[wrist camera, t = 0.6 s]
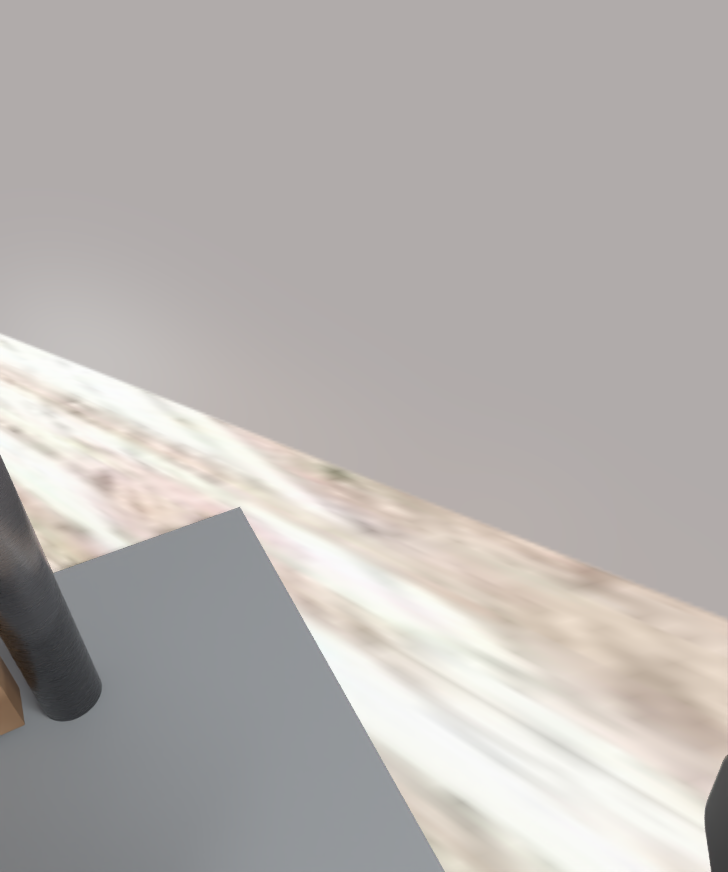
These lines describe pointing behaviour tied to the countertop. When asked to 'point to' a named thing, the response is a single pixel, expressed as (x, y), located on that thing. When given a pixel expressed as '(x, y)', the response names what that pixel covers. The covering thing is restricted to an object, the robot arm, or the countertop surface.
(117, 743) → the board
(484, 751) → the countertop surface
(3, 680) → the panel
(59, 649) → the hinge post
